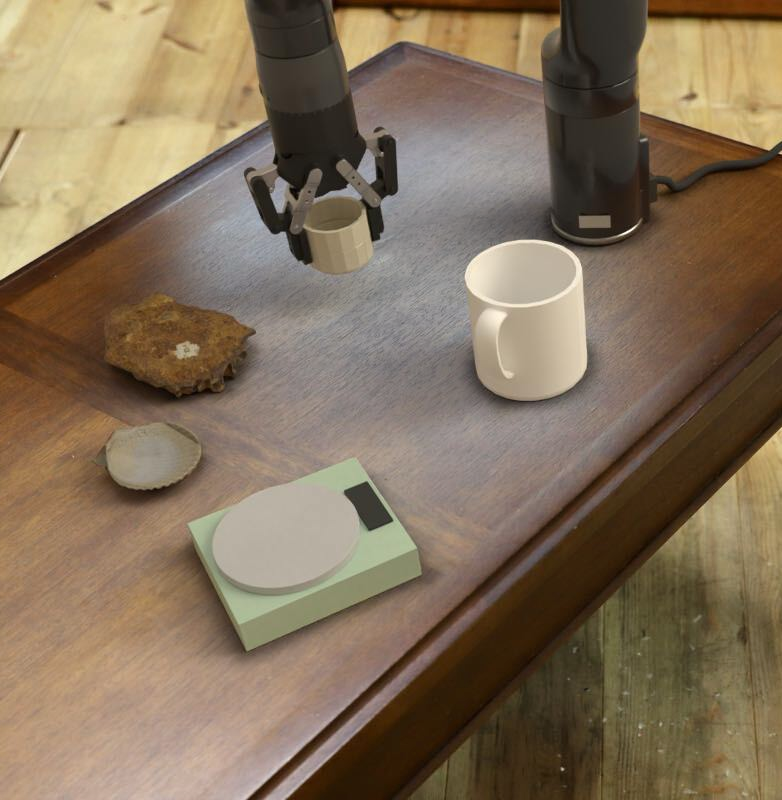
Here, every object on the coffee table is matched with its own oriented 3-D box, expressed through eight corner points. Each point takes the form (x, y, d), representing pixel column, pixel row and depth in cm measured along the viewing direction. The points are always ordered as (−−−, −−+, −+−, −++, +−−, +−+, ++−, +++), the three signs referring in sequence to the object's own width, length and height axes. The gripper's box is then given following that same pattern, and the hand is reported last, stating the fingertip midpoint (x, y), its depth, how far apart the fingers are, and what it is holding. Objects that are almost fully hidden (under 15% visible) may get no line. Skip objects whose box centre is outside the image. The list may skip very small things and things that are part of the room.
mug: (508, 322, 129) (498, 230, 122) (605, 347, 126) (601, 253, 119) (441, 403, 120) (427, 309, 114) (544, 432, 117) (536, 336, 110)
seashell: (177, 519, 113) (221, 441, 117) (169, 501, 111) (215, 422, 115) (86, 490, 114) (133, 414, 118) (76, 471, 112) (125, 394, 116)
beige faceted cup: (359, 232, 134) (350, 188, 131) (384, 263, 130) (376, 218, 126) (299, 253, 132) (289, 209, 128) (323, 285, 128) (312, 240, 124)
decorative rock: (71, 372, 126) (198, 423, 121) (57, 339, 123) (187, 389, 118) (154, 300, 133) (278, 345, 128) (143, 266, 131) (269, 311, 125)
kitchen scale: (360, 483, 113) (353, 448, 111) (422, 574, 105) (415, 540, 103) (195, 550, 108) (184, 515, 105) (246, 652, 100) (235, 617, 97)
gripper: (240, 130, 114) (281, 293, 125) (399, 81, 119) (425, 242, 130) (212, 94, 119) (254, 254, 130) (366, 49, 124) (394, 206, 135)
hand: (339, 247), depth 130 cm, fingers closed on beige faceted cup, 6 cm apart
